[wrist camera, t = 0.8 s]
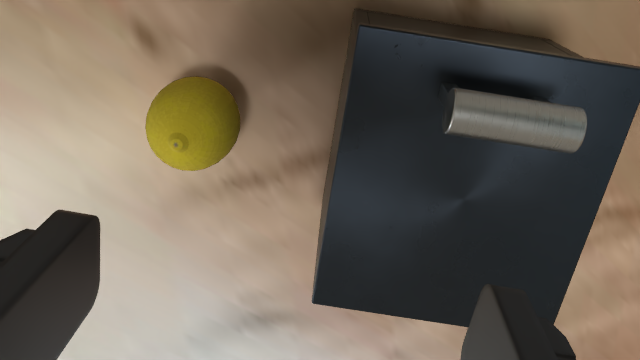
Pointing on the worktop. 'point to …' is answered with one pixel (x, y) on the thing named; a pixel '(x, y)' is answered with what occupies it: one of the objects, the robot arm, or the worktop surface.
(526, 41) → the bin
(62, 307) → the robot arm
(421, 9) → the worktop surface
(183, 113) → the lemon
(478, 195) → the bin lid
